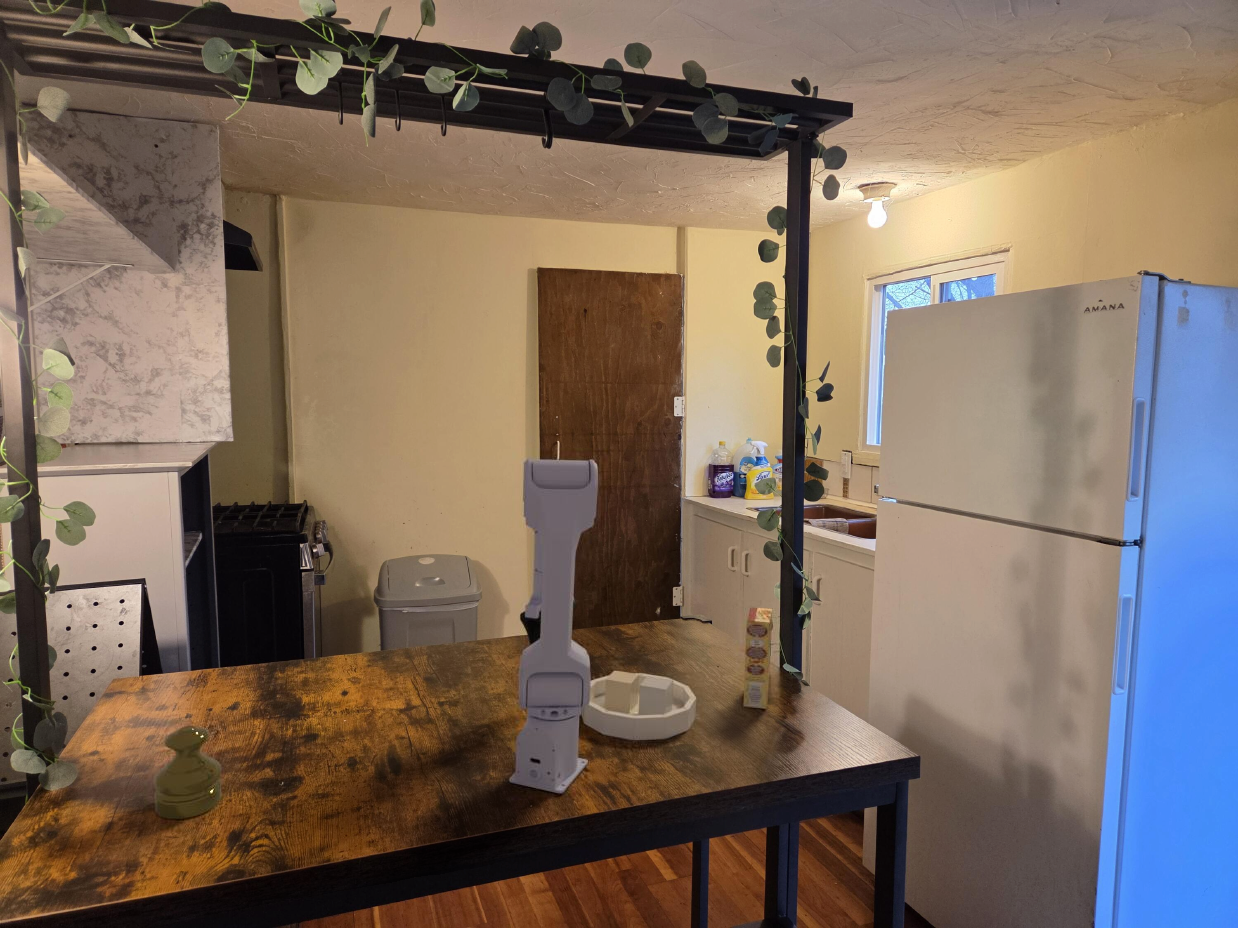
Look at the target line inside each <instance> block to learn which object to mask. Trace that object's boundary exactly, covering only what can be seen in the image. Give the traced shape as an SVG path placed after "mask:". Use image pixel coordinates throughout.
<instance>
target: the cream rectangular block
mask: <svg viewBox="0 0 1238 928" xmlns="http://www.w3.org/2000/svg"><path fill="white" fill-rule="evenodd" d="M607 676H608V677H607V678H606V681H605V709H610V710H616V711H621V712H627V713H630V712H631V711H632V710H633V709H634V707H635V706H636V705H637V704H638V694H639V674H634V673H633V672H627V671H619V670H613V671H612V672H611V673H610V674H609V675H607Z"/></svg>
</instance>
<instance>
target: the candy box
mask: <svg viewBox="0 0 1238 928" xmlns="http://www.w3.org/2000/svg"><path fill="white" fill-rule="evenodd" d="M747 616H748V617H747V620H746V628H745V629H746V630H745V631H746V632H745V656H744V657H745V658H744V661H745V662H744V683H743V684H744V687H743V707H745V708H754V709H763V710H766V709H767V705H768V698H769V689H770V688H769V687H770V674H771V673H770V672H771V650H772V648H771V647H772V622H773V621H772V620H773V609H772V608H762V607H750V608H749V611H748V615H747Z"/></svg>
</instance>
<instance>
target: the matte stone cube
mask: <svg viewBox="0 0 1238 928" xmlns="http://www.w3.org/2000/svg"><path fill="white" fill-rule="evenodd" d="M673 680H674V679H672V680H669V679H663V678H657V677H651V676H648V677H647V678H646V679H645V680H644V681H643V682H642V683H641V684H640V690H639V715H661V714H666V713H669V712H671V710H672V703H673Z"/></svg>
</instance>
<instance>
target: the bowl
mask: <svg viewBox="0 0 1238 928" xmlns="http://www.w3.org/2000/svg"><path fill="white" fill-rule="evenodd" d="M634 674H639V690H640V684H641V683H642V682H643V681H644V680H645V679H646V678H647V677H648V676H651V677H657V678H663V679H669V680H673V703H672V710H671V712H669V713H666V714H661V715H639V694H638V704H637V705H636V706H635V707H634V709H633V710H632V711H631V712H630V713H627V712H621V711H616V710H610V709H605V681H606V678H607V677H608V676H609V675H605V676H602V677H599V678H595V679H591V680H590V682H591V687H590V702H589V704H588V705H587V706H586V708H581V715H580V716H581V718H582V721H583V724H585V725H586V726H588V727H589V728H592V729H593V730H594V731H597V732H598V733H601V734H602V735H604V736H609V737H614V738H619V739H625V740H630V741H648V740H649V741H650V740H666V739H669V738H671V737H674V736H678V735H680V734H682V733H685V732H687V731H689V729H690V728H691V726H692V725H693V723H694V722H695V720H696V713H697V711H696V709H697V697H696V696H695V694H694V692H693V691H692V690H691V688H690V686H689V685H686V684H684V683H682V682H680V681H677V680H675V679H672V678H671V677H667V676H661V675H660V676H659V675H656V674H655V675H653V674H648V673H643V672H639V673H637V672H636V673H634Z"/></svg>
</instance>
